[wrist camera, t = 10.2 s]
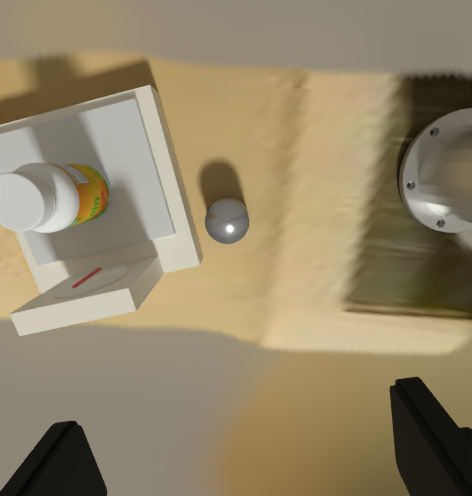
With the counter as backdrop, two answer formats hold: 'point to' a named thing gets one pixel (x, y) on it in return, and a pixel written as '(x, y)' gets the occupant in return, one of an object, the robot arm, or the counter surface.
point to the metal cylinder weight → (227, 220)
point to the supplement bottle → (52, 196)
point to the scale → (114, 219)
